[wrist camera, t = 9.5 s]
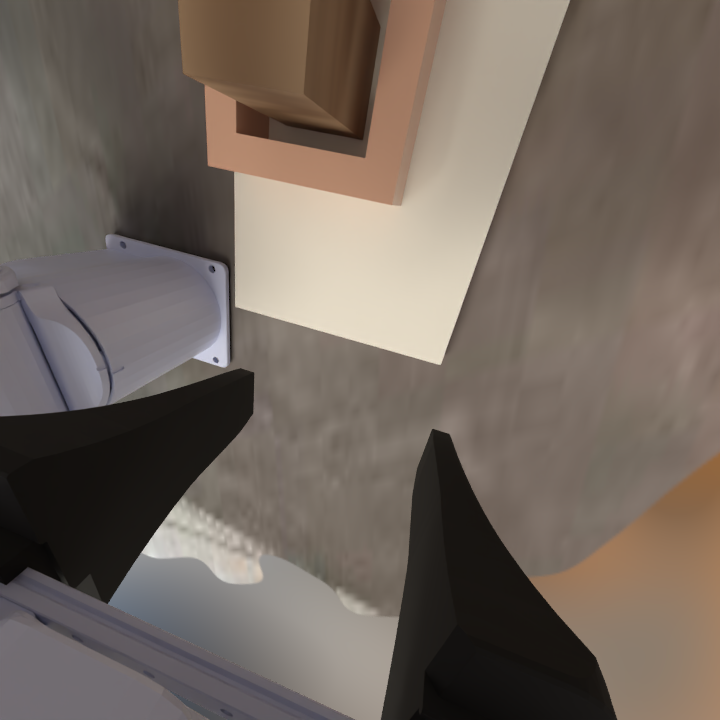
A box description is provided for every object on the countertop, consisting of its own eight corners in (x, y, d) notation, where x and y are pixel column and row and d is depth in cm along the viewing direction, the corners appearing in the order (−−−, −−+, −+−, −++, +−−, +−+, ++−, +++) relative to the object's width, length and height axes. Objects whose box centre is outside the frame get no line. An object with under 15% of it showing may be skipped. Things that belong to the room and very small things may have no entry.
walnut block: (287, 125, 16) (182, 73, 10) (293, 15, 14) (169, -137, 8) (363, 140, 15) (303, 94, 9) (380, 27, 13) (320, -129, 7)
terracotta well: (242, 171, 17) (208, 165, 15) (243, -78, 13) (194, -145, 10) (401, 205, 16) (391, 205, 13) (459, -60, 12) (462, -130, 9)
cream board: (243, 302, 22) (235, 306, 21) (246, -61, 14) (232, -79, 13) (440, 358, 20) (440, 365, 19) (577, -30, 12) (587, -48, 11)
